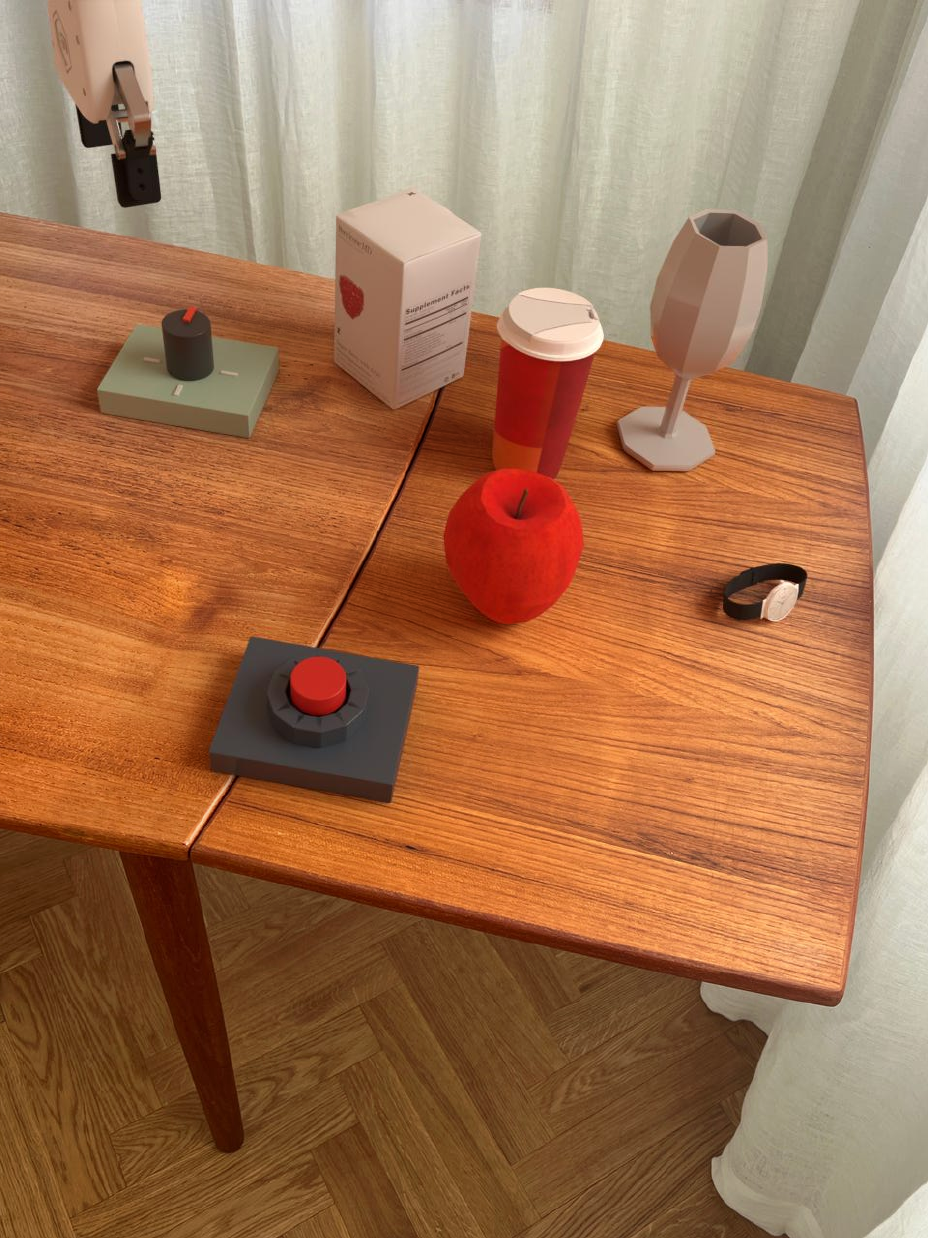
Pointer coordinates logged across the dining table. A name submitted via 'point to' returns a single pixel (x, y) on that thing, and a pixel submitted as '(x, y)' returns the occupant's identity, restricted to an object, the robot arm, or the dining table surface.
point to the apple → (513, 544)
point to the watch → (777, 599)
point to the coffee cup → (542, 377)
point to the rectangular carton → (403, 295)
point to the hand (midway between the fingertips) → (120, 172)
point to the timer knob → (188, 344)
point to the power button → (318, 686)
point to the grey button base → (316, 723)
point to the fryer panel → (190, 385)
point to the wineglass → (698, 329)
